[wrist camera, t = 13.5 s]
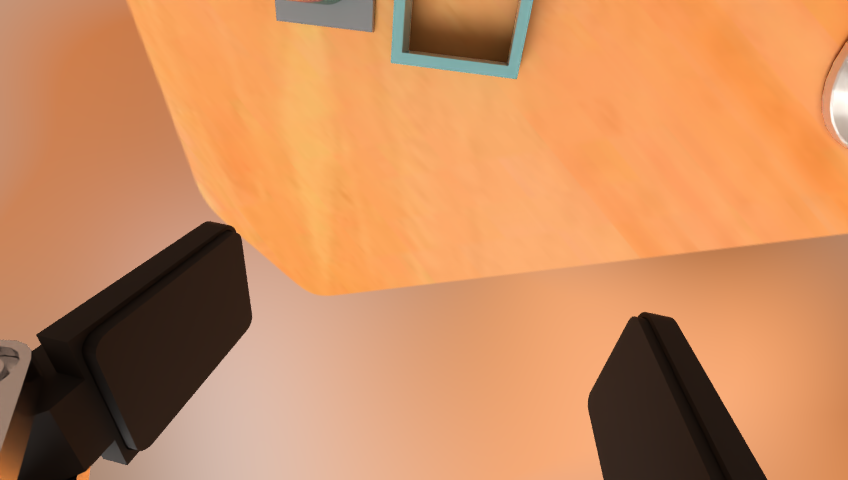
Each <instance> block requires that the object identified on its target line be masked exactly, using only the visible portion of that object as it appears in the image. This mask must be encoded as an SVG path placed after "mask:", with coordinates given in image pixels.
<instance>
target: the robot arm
mask: <svg viewBox="0 0 848 480" xmlns="http://www.w3.org/2000/svg"><path fill="white" fill-rule="evenodd" d="M822 114H823V118H824V122H825V126H826V127H827V129H828V131H829V132H830V134H831V135H832V137H833V138H834V139H835V140H836V141H838V142H839V143H840V144H841V145H842V146H844V147H846V148H848V41H847V42H846V43H845V45H844V47H843V48H842V50H841V51H840V53H839V54H838V56H837V58H836V59H835V61H834V63H833V65H832V67H831V69H830V72H829V74H828V76H827V79H826V82H825V86H824V91H823V95H822ZM251 320H252V311H251V304H250V297H249V291H248V282H247V275H246V268H245V261H244V254H243V246H242V239H241V236H240V235H239V234H238V233H236V230H235V229H234V227H232V226H230V225H225V224H220V223H215V222H211V221H210V222H205V223H203V224H201V225H200V226H198V227H197V228H196V229H194V230H192V231H191V232H189V233H188V234H186V235H185V236H183V237H182V238H181V239H179V240H177V241H176V242H175V243H173V244H171V245H170V246H168V247H167V248H165V249H164V250H162V251H161V252H159V253H158V254H157V255H155V256H153V257H152V258H151V259H149V260H147V261H146V262H144V263H143V264H141V265H140V266H138V267H137V268H135V269H134V270H132V271H131V272H129V273H128V274H126V275H125V276H123V277H122V278H120V279H119V280H117V281H116V282H114V283H113V284H111V285H110V286H109V287H107V288H106V289H104V290H102V291H101V292H100V293H98V294H97V295H95V296H94V297H92V298H91V299H89V300H87V301H86V302H85V303H83V304H81V305H80V306H79V307H77V308H75V309H74V310H73V311H71V312H70V313H68V314H67V315H65V316H64V317H62V318H61V319H59V320H58V321H56V322H55V323H53V324H52V325H50V326H49V327H47V328H46V329H44V330H43V331H41V332H40V333H38V334H37V337H38V339H39V341H40V343H41V345H40V346H39V347H37V348H36V349H35V350H33V351H31V349H30V348H29V347H28V346H27V344H24V343H22V342H19V341H15V340H0V480H89V475H90V468H91V465H92V464H93V463H94V462H95V461H96V460H97V459H98V458H99V457H100V456H102V457H103V459H106V460H110V461H114V462H118V463H121V464H125V465H128V464H129V463H130V461H131V460H132V459H133V458H134V457H135V456H136V454H137V453H138V452H139V451H143V450H145V449H147V448H148V447H150V446H151V444H152V443H153V442H154V441H155V440H156V439H157V438H158V436H159V435H160V434H161V433H162V432H163V430H164V429H165V428H166V427H167V426H168V424H169V423H170V422H171V421H172V419H173V418H174V417H175V416H176V415H177V414H178V412H179V411H180V410H181V409H182V407H183V406H184V405H185V404H186V403H187V402H188V400H189V399H190V398H191V397H192V396H193V394H194V393H195V392H196V391H197V390H198V388H199V387H200V386H201V385H202V383H203V382H204V381H205V380H206V379H207V378H208V376H209V375H210V374H211V373H212V371H213V370H214V369H215V368H216V367H217V366H218V364H219V363H220V362H221V361H222V359H223V358H224V357H225V356H226V355H227V354H228V352H229V351H230V350H231V349H232V348H233V346H234V345H235V344H236V343H237V342H238V340H239V339H240V338H241V336H242V335H243V334H244V333H245V332H246V330H247V329H248V328H249V326H250V324H251ZM588 410H589V415H590V419H591V424H592V428H593V433H594V437H595V442H596V447H597V451H598V456H599V460H600V465H601V469H602V474H603V478H604V480H767V478H766V476H765V475H764V473H763V471H762V470H761V468H760V466H759V464H758V463H757V461H756V459H755V457H754V456H753V454H752V452H751V451H750V449H749V447H748V445H747V444H746V442H745V440H744V438H743V437H742V435H741V433H740V432H739V430H738V428H737V426H736V425H735V423H734V421H733V419H732V418H731V416H730V414H729V413H728V411H727V409H726V407H725V406H724V404H723V402H722V401H721V399H720V397H719V395H718V393H717V392H716V390H715V388H714V387H713V385H712V383H711V381H710V380H709V378H708V376H707V375H706V373H705V371H704V369H703V368H702V366H701V364H700V362H699V361H698V359H697V357H696V355H695V354H694V352H693V350H692V348H691V347H690V345H689V343H688V342H687V340H686V338H685V336H684V335H683V333H682V331H681V330H680V328H679V326H678V324H677V323H676V321H675V320H674V319H673V318H671V317H666V316H661V315H656V314H652V313H647V312H643V313H641V314H640V315H639V316H638V317H632V318H630V320H629V321H628V323H627V325H626V327H625V329H624V330H623V332H622V334H621V336H620V338H619V340H618V342H617V343H616V345H615V347H614V349H613V351H612V353H611V355H610V356H609V358H608V360H607V362H606V364H605V366H604V368H603V370H602V371H601V373H600V375H599V377H598V379H597V381H596V383H595V385H594V387H593V388H592V390H591V392H590V395H589V398H588Z"/></svg>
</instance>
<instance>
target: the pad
mask: <svg viewBox="0 0 848 480" xmlns="http://www.w3.org/2000/svg"><path fill="white" fill-rule="evenodd" d="M275 6H276V18H277V21H285V22H293V23H301V24H309V25H317V26H326V27H334V28H342V29H350V30H358V31H366V32H374V17H375V0H341V1H339V2H337V3H335V4H331V5H322V4H313V3H304V2H296V1H287V0H275Z"/></svg>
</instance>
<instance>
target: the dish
mask: <svg viewBox="0 0 848 480" xmlns="http://www.w3.org/2000/svg"><path fill="white" fill-rule="evenodd" d="M532 4H533V0H519V2H518V8H517V13H516V18H515V23H514V28H513V34H512V39H511V44H510V49H509V54H508V60H507V62H499V61H491V60H483V59H475V58H467V57H459V56H451V55H443V54H435V53H427V52H419V51H411V50H409V46H410V33H411V19H412V6H413V0H394V13H393V32H392V51H391V63H396V64H403V65H411V66H419V67H427V68H435V69H442V70H450V71H458V72H466V73H473V74H481V75H489V76H497V77H504V78H512V79H517V76H518V71H519V66H520V62H521V57H522V52H523V47H524V43H525V38H526V33H527V28H528V23H529V19H530V14H531V9H532Z"/></svg>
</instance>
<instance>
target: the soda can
mask: <svg viewBox="0 0 848 480" xmlns="http://www.w3.org/2000/svg"><path fill="white" fill-rule="evenodd" d="M287 1H296V2H304V3H313V4H322V5H331V4H335V3H337V2H339V1H341V0H287Z"/></svg>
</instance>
